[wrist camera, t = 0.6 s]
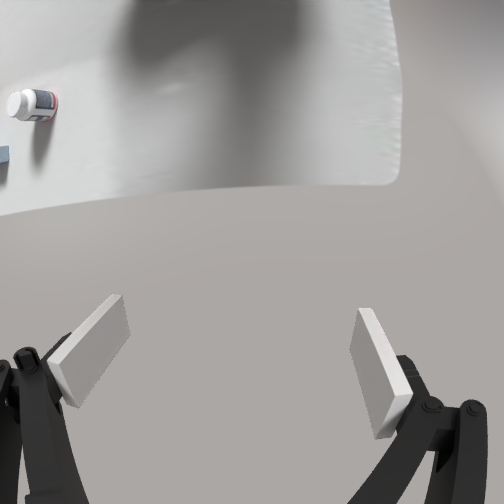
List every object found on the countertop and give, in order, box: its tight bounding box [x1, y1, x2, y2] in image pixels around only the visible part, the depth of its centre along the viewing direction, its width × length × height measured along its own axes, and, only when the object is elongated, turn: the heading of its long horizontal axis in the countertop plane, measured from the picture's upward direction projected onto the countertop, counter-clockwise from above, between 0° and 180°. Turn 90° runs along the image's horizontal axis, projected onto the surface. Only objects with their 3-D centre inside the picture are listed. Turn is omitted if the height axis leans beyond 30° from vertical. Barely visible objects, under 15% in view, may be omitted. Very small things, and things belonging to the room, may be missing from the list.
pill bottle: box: [6, 89, 58, 121], centre depth 34 cm, size 5×5×9 cm
